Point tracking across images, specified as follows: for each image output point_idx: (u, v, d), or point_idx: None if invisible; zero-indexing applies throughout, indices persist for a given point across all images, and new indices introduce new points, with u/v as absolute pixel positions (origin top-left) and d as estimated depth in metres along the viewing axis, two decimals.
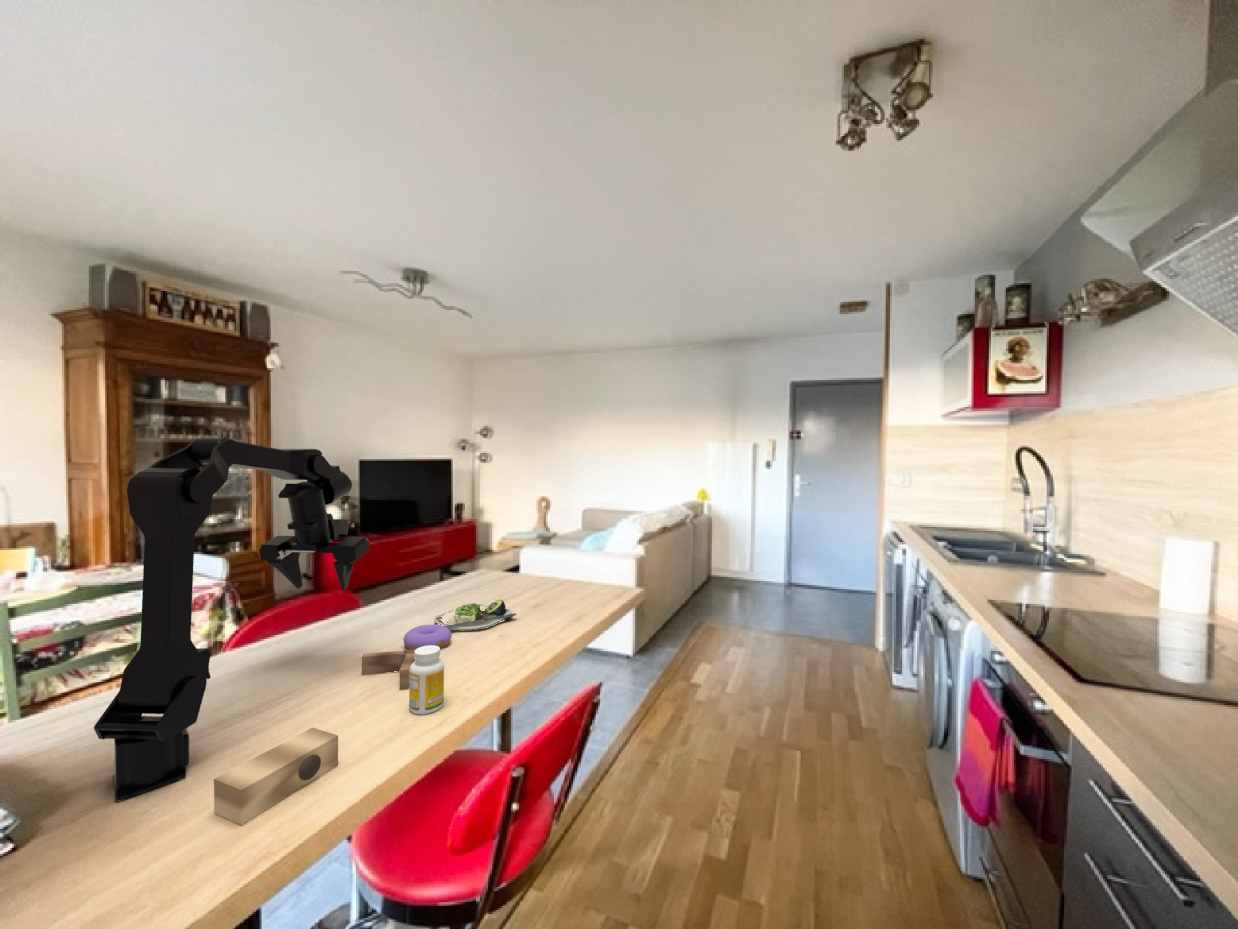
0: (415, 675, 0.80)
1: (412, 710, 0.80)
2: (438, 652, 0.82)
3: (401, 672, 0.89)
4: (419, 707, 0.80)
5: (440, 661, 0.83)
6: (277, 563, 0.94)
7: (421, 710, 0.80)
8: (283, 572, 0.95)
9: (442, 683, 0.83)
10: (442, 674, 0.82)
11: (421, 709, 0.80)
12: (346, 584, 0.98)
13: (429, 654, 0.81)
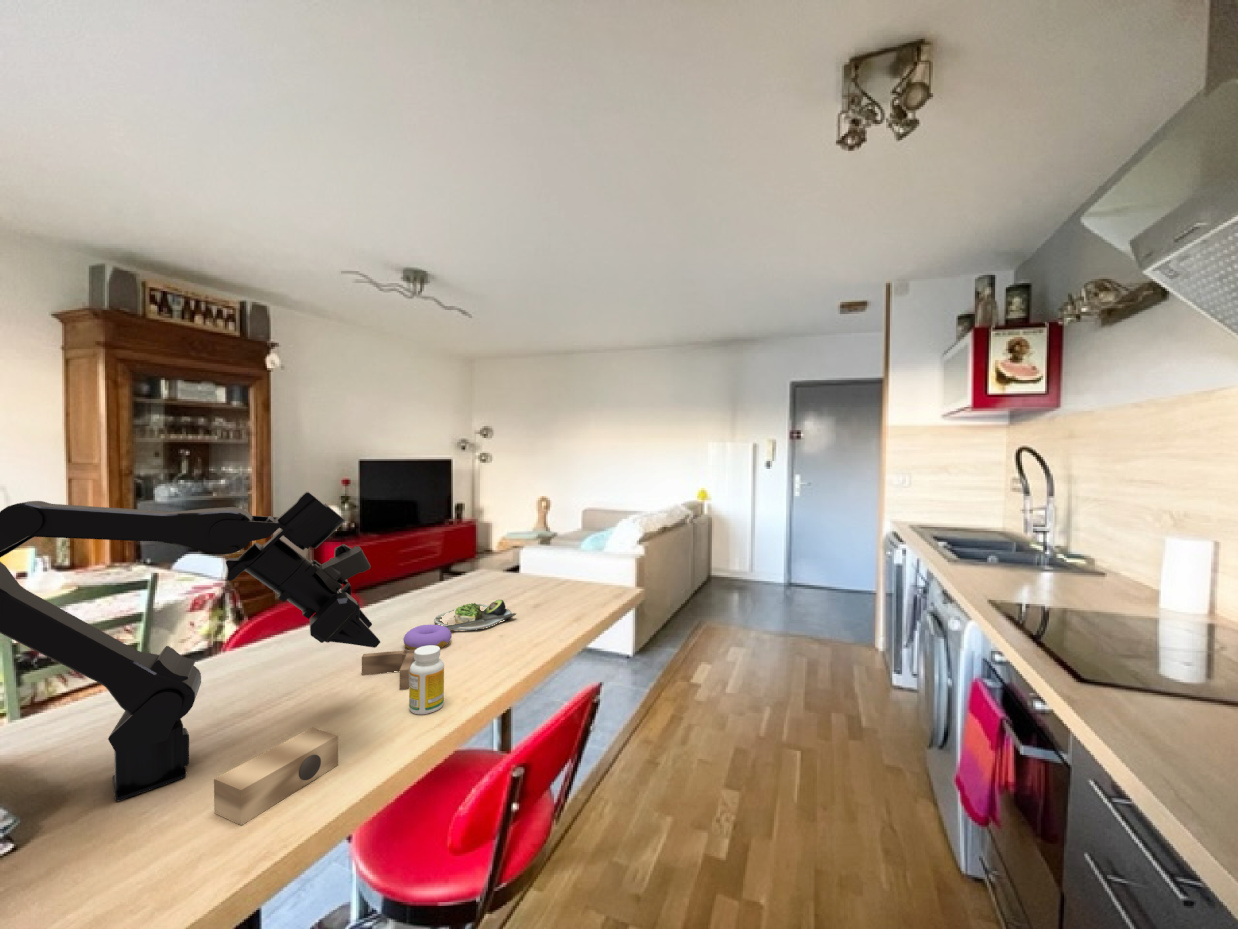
0: (415, 675, 0.80)
1: (412, 710, 0.80)
2: (438, 652, 0.82)
3: (401, 672, 0.89)
4: (419, 707, 0.80)
5: (440, 661, 0.83)
6: None
7: (421, 710, 0.80)
8: None
9: (442, 683, 0.83)
10: (442, 674, 0.82)
11: (421, 709, 0.80)
12: (373, 642, 0.74)
13: (429, 653, 0.81)
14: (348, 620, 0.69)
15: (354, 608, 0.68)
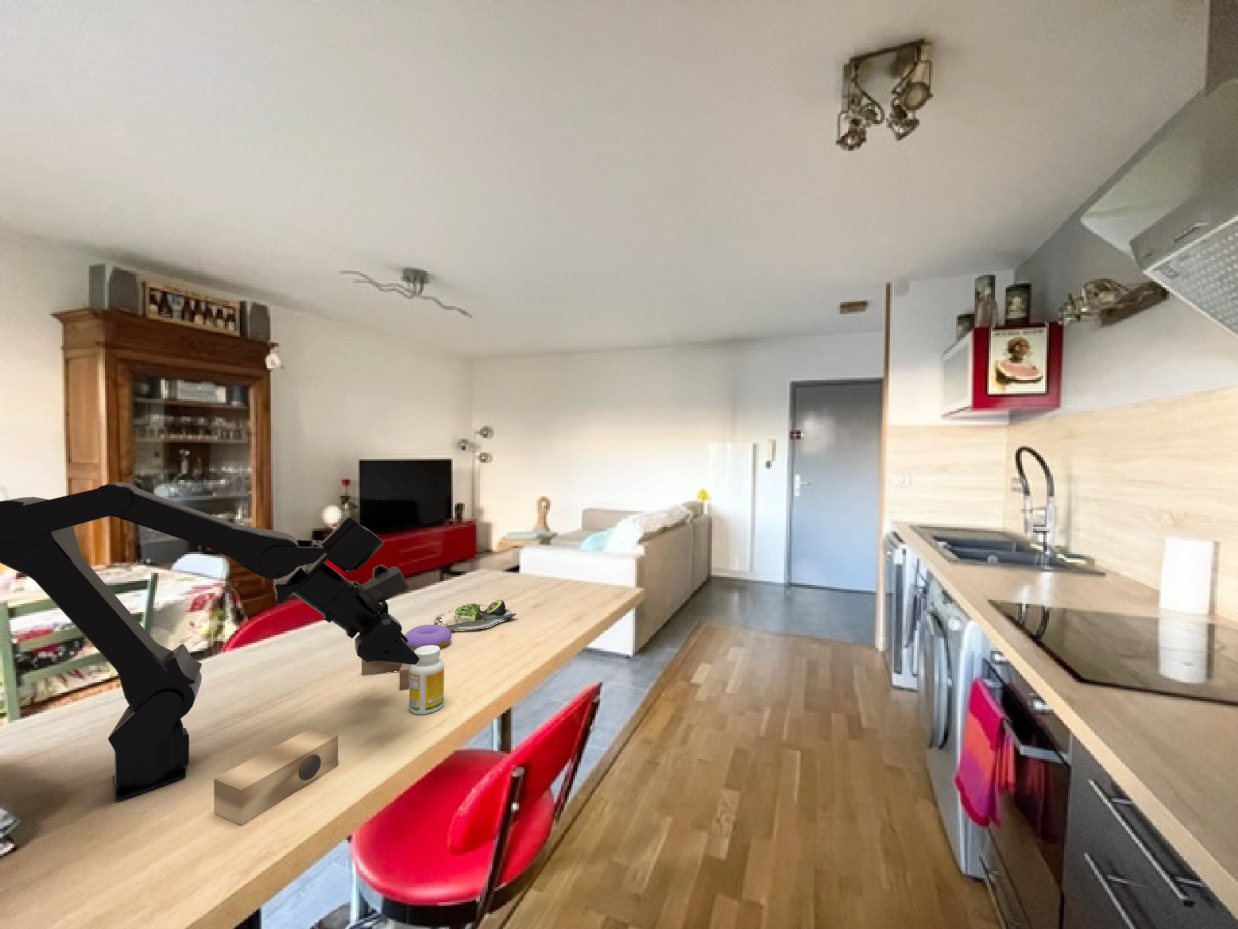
0: (415, 675, 0.80)
1: (412, 710, 0.80)
2: (438, 652, 0.82)
3: (401, 672, 0.89)
4: (419, 707, 0.80)
5: (440, 661, 0.83)
6: None
7: (421, 710, 0.80)
8: None
9: (442, 683, 0.83)
10: (442, 674, 0.82)
11: (421, 709, 0.80)
12: (413, 659, 0.77)
13: (429, 653, 0.81)
14: (391, 640, 0.72)
15: (397, 629, 0.71)
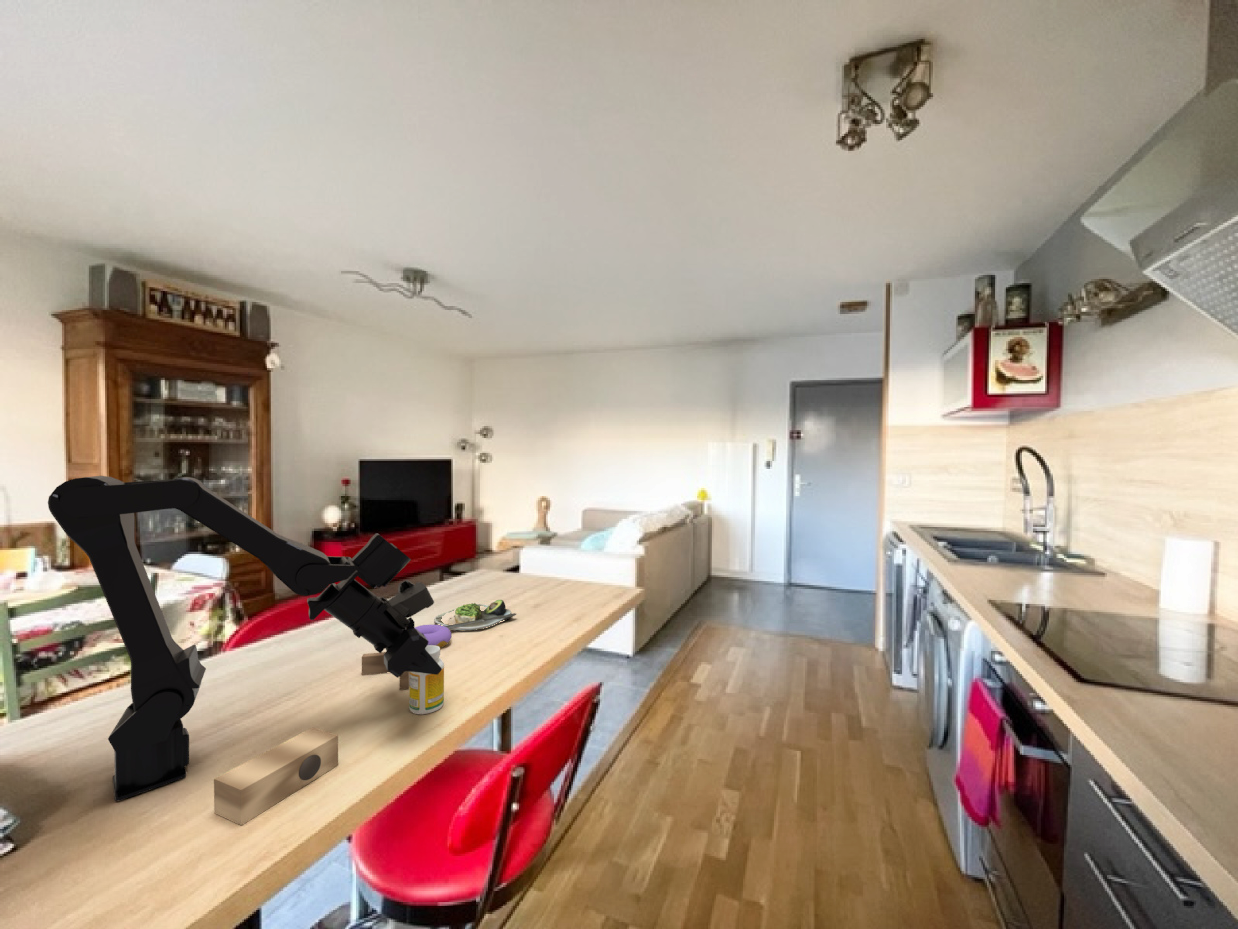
0: (415, 675, 0.80)
1: (412, 710, 0.80)
2: (438, 652, 0.82)
3: None
4: (419, 707, 0.80)
5: (440, 661, 0.83)
6: None
7: (421, 710, 0.80)
8: None
9: (442, 683, 0.83)
10: (442, 674, 0.82)
11: (421, 709, 0.80)
12: (435, 669, 0.80)
13: (429, 653, 0.81)
14: None
15: (425, 644, 0.74)
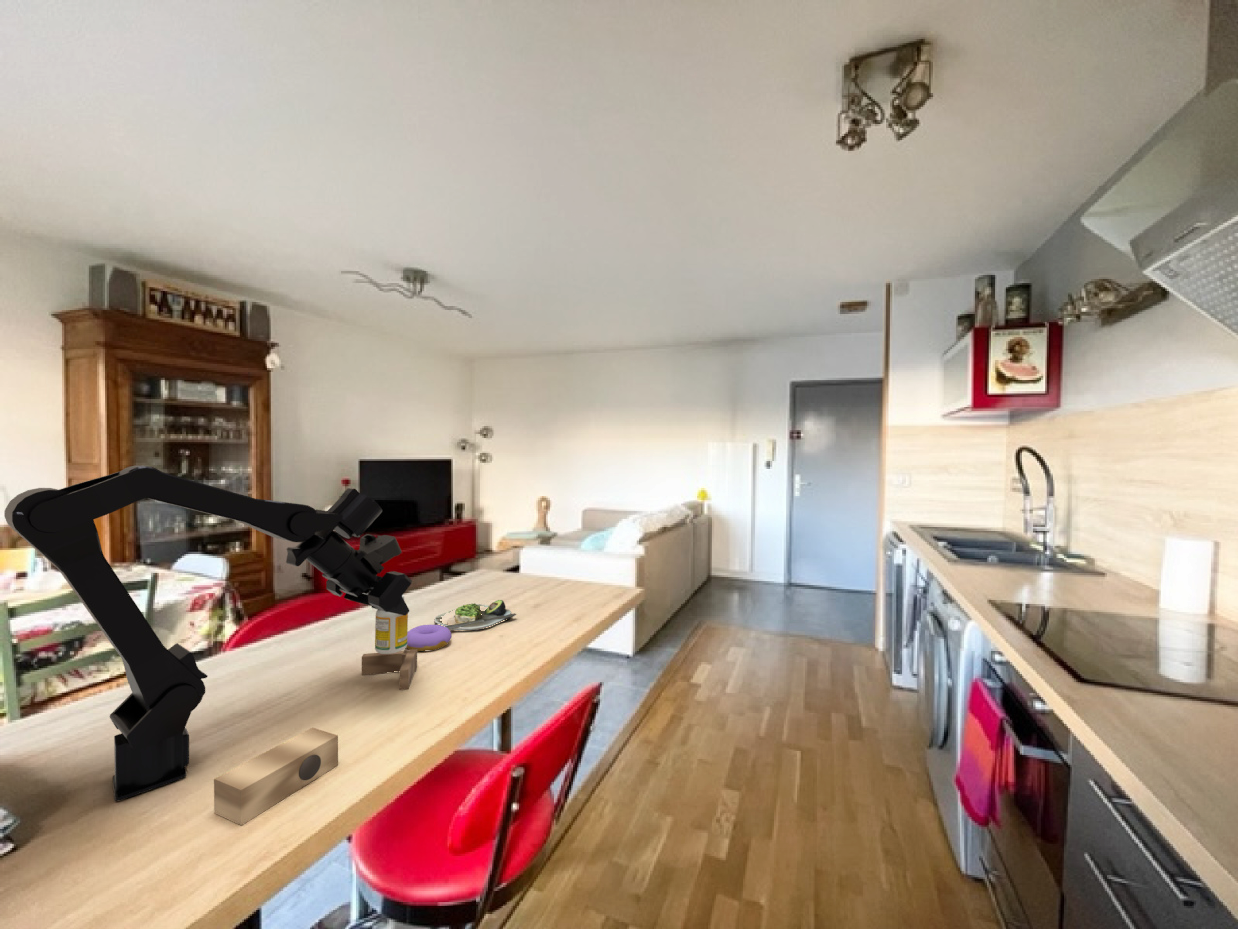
0: (386, 618, 0.88)
1: (381, 651, 0.88)
2: None
3: (401, 672, 0.89)
4: (389, 646, 0.88)
5: None
6: None
7: (391, 649, 0.88)
8: (363, 603, 0.90)
9: (407, 625, 0.92)
10: (407, 617, 0.92)
11: (391, 648, 0.88)
12: (405, 611, 0.89)
13: None
14: None
15: (410, 582, 0.84)
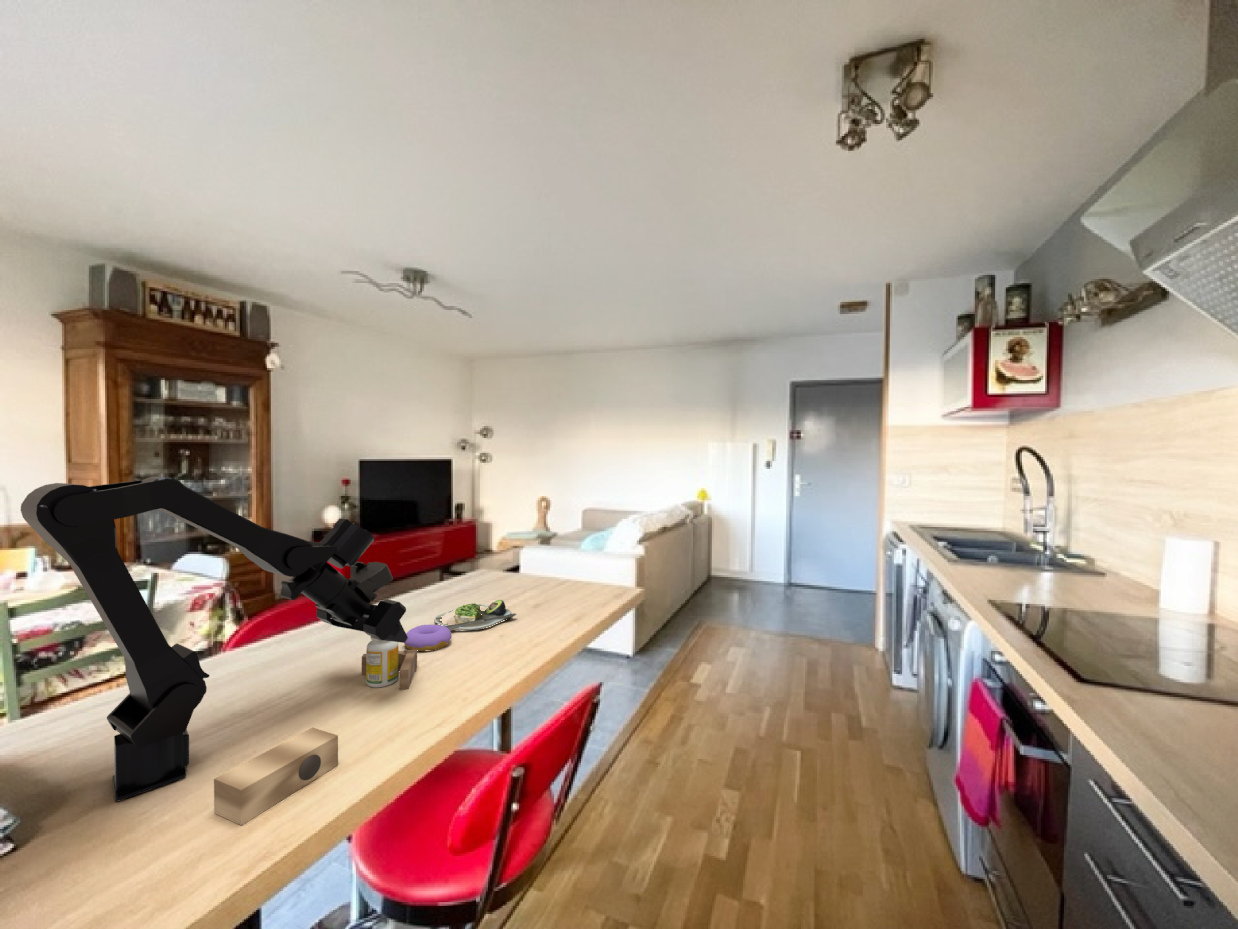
0: (377, 652, 0.89)
1: (374, 685, 0.89)
2: None
3: (401, 672, 0.89)
4: (382, 680, 0.90)
5: None
6: None
7: (384, 682, 0.90)
8: (348, 628, 0.92)
9: None
10: None
11: (384, 682, 0.90)
12: (403, 638, 0.90)
13: None
14: None
15: (405, 610, 0.85)
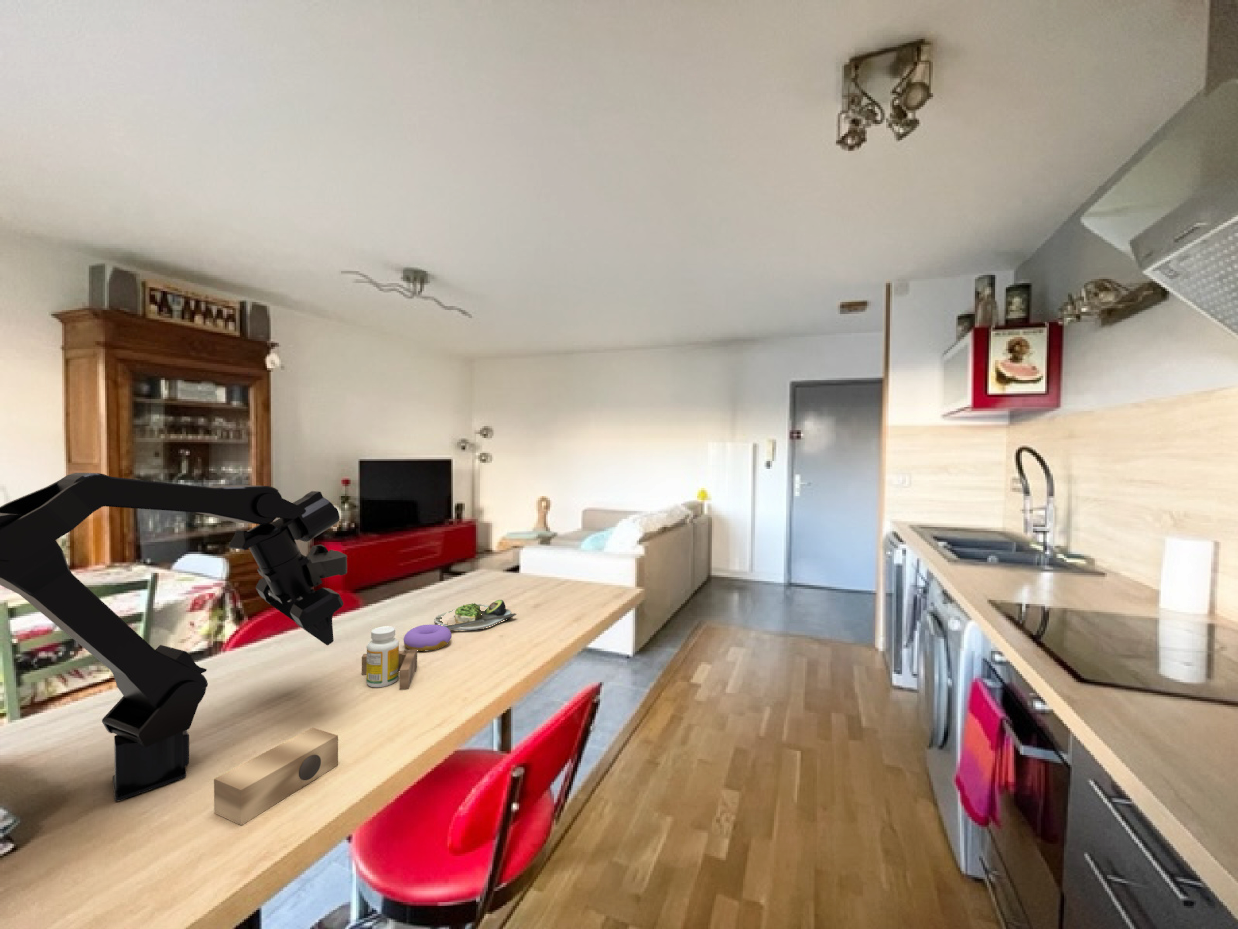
0: (378, 652, 0.89)
1: (374, 684, 0.89)
2: None
3: (401, 672, 0.89)
4: (382, 680, 0.90)
5: (395, 638, 0.93)
6: (269, 603, 0.84)
7: (384, 682, 0.90)
8: None
9: (398, 657, 0.93)
10: (398, 649, 0.93)
11: (384, 682, 0.90)
12: (328, 640, 0.82)
13: (389, 632, 0.91)
14: None
15: (341, 605, 0.78)
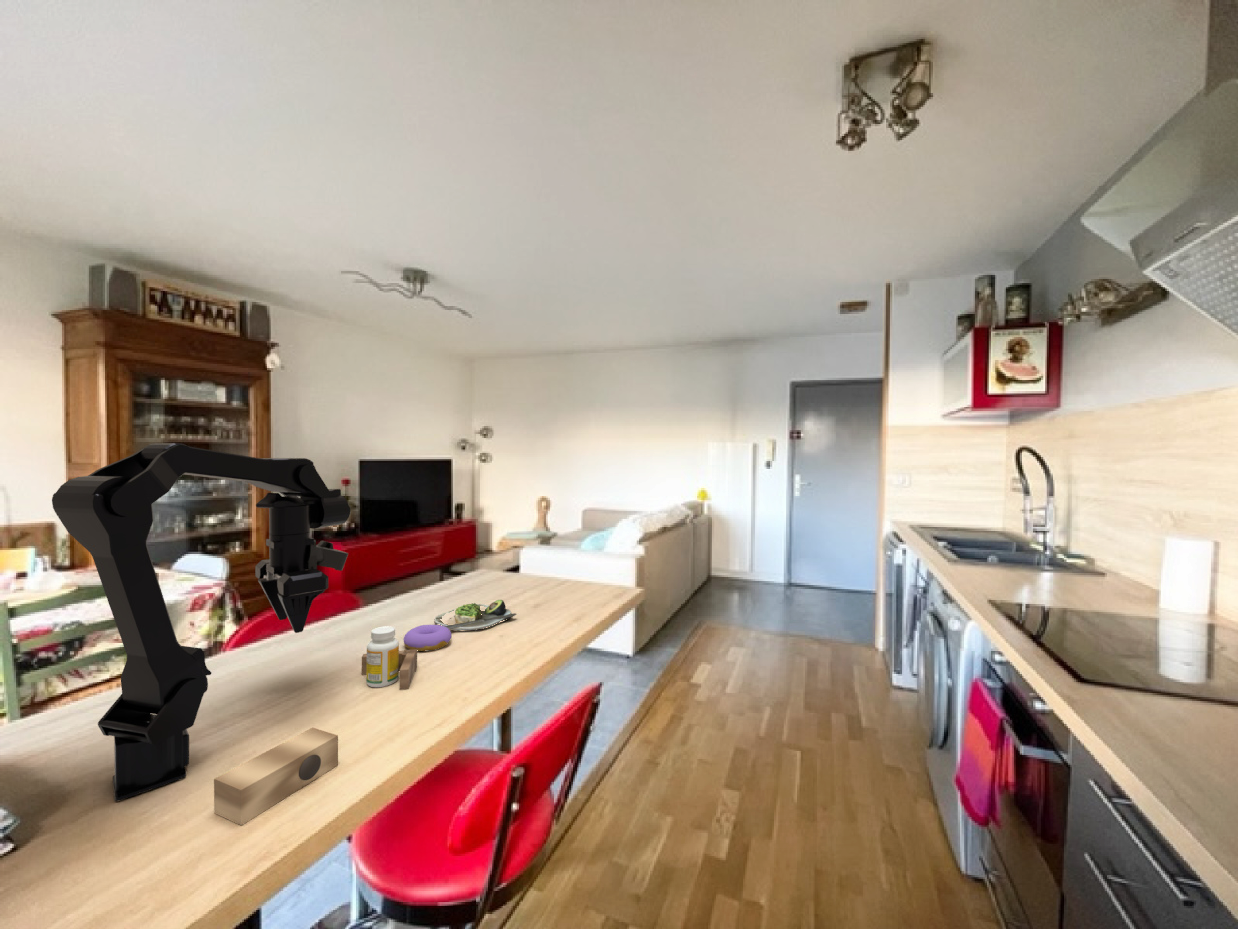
0: (378, 652, 0.89)
1: (374, 684, 0.89)
2: None
3: (401, 672, 0.89)
4: (382, 680, 0.90)
5: (395, 638, 0.93)
6: (260, 583, 0.85)
7: (384, 682, 0.90)
8: (266, 595, 0.86)
9: (398, 657, 0.93)
10: (398, 649, 0.93)
11: (384, 682, 0.90)
12: (299, 627, 0.80)
13: (389, 632, 0.91)
14: (311, 594, 0.79)
15: (325, 587, 0.79)
